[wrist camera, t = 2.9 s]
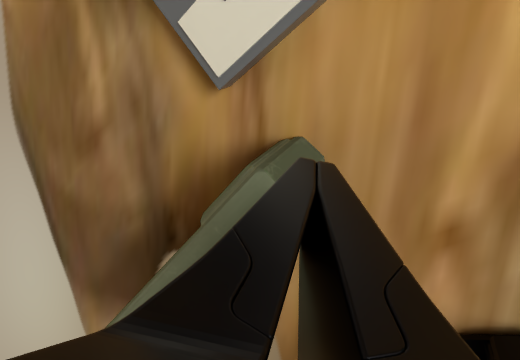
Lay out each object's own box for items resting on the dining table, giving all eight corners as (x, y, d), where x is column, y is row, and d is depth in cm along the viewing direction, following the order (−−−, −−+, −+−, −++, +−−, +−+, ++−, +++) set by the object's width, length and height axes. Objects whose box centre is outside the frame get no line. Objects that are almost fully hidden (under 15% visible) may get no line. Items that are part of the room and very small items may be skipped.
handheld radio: (335, 165, 21) (147, 333, 34) (295, 125, 21) (123, 308, 34) (304, 212, 15) (92, 394, 28) (250, 157, 15) (63, 363, 28)
